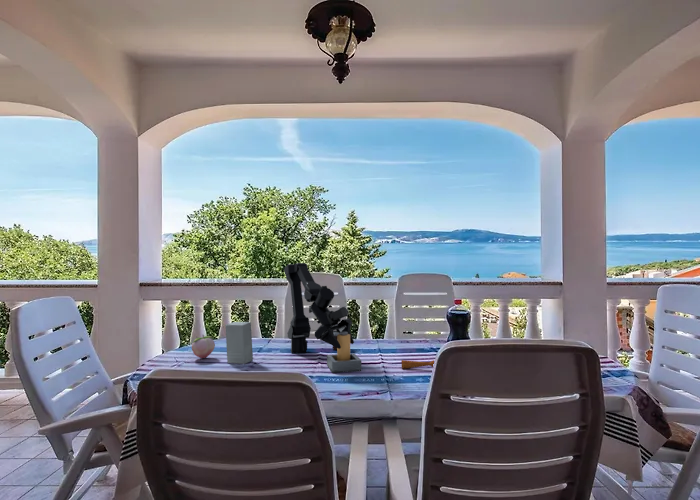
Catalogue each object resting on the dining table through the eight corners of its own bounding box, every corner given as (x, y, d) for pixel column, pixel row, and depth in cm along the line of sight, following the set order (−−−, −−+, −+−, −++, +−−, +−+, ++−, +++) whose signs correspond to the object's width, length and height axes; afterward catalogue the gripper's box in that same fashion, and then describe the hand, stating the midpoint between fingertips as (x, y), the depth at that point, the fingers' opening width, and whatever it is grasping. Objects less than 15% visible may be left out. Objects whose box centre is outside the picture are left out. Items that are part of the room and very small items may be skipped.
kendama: (402, 356, 162) (455, 354, 157) (403, 372, 160) (456, 371, 156) (400, 356, 156) (455, 355, 152) (401, 373, 155) (457, 372, 150)
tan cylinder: (338, 368, 155) (338, 333, 155) (336, 365, 160) (336, 331, 160) (351, 367, 156) (351, 333, 157) (348, 364, 161) (348, 330, 161)
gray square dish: (332, 373, 152) (332, 362, 152) (326, 365, 162) (326, 354, 162) (361, 371, 154) (361, 360, 154) (354, 363, 165) (354, 353, 165)
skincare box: (253, 360, 169) (253, 321, 169) (243, 365, 162) (243, 324, 162) (235, 359, 172) (235, 320, 172) (224, 363, 165) (224, 323, 165)
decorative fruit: (204, 355, 178) (205, 331, 179) (218, 357, 174) (218, 333, 174) (186, 359, 170) (186, 335, 171) (199, 362, 166) (199, 337, 166)
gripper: (320, 303, 153) (346, 336, 147) (348, 298, 168) (372, 328, 163) (303, 322, 157) (327, 355, 151) (332, 316, 173) (354, 346, 167)
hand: (346, 345), depth 158 cm, fingers open, 9 cm apart
